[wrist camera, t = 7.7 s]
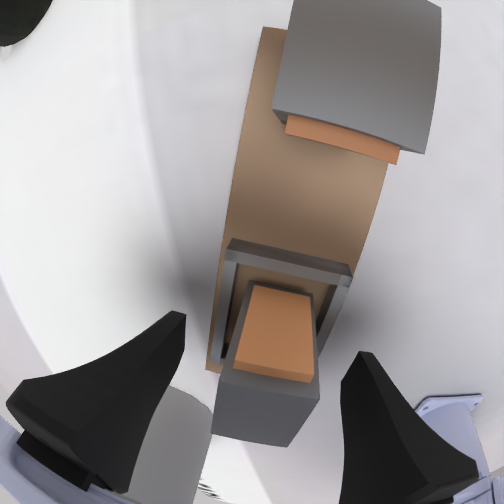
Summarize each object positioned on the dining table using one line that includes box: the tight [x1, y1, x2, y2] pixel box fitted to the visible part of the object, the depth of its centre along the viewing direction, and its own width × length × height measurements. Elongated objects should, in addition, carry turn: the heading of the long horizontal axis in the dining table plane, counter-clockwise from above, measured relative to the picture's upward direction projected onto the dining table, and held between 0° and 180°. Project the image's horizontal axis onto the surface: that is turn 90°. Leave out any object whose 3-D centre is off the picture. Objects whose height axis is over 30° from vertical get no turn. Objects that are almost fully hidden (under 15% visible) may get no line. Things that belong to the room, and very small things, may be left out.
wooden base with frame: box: [205, 0, 441, 374], centre depth 10 cm, size 18×6×7 cm, turn 169°
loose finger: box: [210, 280, 320, 447], centre depth 11 cm, size 4×3×6 cm
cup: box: [105, 385, 213, 504], centre depth 16 cm, size 8×8×10 cm
